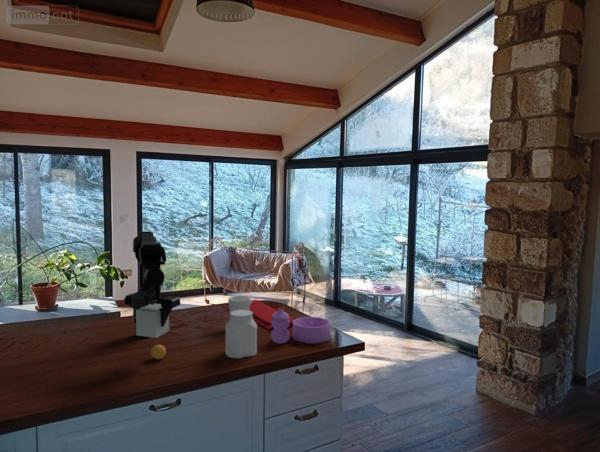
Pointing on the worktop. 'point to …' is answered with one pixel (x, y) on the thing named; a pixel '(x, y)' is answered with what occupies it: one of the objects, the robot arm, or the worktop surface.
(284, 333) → the container set
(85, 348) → the worktop surface
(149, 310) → the pale grey cube
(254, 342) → the jar
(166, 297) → the robot arm
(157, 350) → the ball
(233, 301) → the foam cup
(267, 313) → the dish drying mat
